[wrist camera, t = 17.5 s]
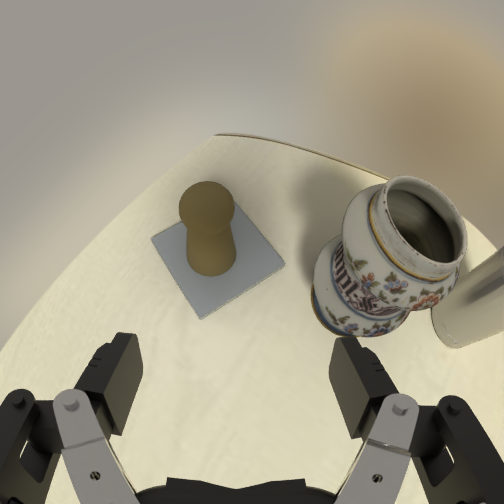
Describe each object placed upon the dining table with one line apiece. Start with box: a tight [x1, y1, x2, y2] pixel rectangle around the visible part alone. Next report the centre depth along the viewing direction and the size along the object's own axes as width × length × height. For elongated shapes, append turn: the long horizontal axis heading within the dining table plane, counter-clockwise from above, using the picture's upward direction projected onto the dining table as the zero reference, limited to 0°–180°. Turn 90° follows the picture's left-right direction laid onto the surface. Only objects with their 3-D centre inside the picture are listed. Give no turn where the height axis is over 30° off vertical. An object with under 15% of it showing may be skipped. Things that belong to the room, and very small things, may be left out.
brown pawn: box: [179, 181, 236, 277], centre depth 30 cm, size 6×6×11 cm
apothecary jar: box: [311, 175, 467, 337], centre depth 27 cm, size 12×12×18 cm
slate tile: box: [151, 202, 285, 320], centre depth 36 cm, size 12×12×1 cm
